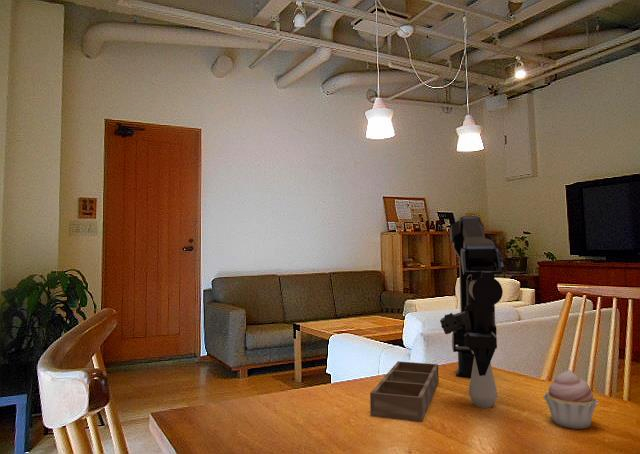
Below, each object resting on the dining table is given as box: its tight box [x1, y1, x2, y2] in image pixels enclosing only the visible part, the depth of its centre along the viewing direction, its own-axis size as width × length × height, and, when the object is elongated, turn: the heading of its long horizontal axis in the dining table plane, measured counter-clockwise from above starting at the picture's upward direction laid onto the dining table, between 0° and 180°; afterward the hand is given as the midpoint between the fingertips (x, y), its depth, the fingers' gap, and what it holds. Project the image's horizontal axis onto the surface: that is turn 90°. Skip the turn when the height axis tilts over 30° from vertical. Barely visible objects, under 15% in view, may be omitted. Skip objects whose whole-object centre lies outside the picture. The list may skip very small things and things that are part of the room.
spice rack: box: [369, 361, 440, 423], centre depth 107 cm, size 29×10×4 cm, turn 160°
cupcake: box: [543, 369, 599, 430], centre depth 90 cm, size 9×9×10 cm
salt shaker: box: [468, 351, 498, 409], centre depth 102 cm, size 6×6×13 cm
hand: (482, 373), depth 102 cm, fingers closed on salt shaker, 3 cm apart
